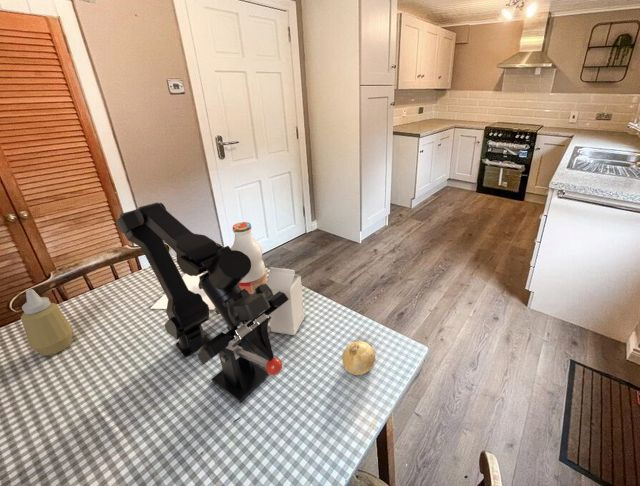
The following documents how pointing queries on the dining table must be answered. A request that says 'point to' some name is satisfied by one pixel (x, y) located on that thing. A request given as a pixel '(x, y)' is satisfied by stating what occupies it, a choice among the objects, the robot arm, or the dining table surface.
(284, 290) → the milk carton
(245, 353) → the lever
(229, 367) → the bracket
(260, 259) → the fruit juice
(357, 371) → the onion
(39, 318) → the squeeze bottle
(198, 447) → the dining table surface
